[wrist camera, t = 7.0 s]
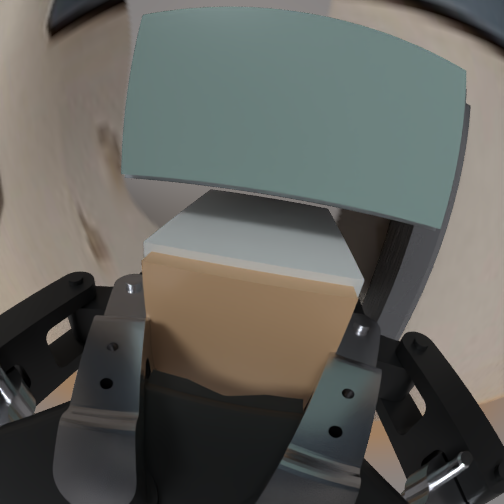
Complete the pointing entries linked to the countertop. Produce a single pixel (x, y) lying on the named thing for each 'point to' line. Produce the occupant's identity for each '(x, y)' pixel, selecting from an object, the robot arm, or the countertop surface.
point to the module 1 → (294, 111)
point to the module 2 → (248, 294)
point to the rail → (408, 263)
